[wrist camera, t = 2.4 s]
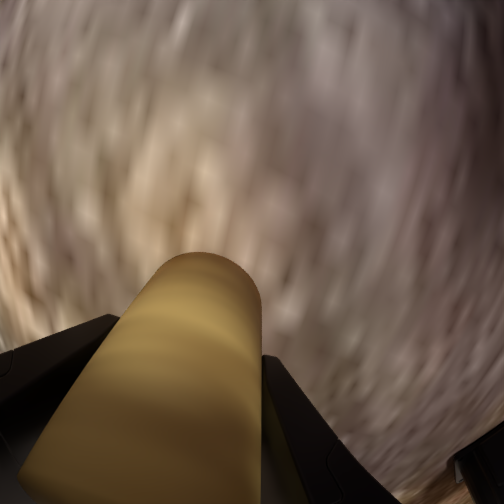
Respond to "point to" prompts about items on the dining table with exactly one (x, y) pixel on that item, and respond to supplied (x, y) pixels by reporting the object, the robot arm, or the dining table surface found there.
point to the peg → (164, 399)
